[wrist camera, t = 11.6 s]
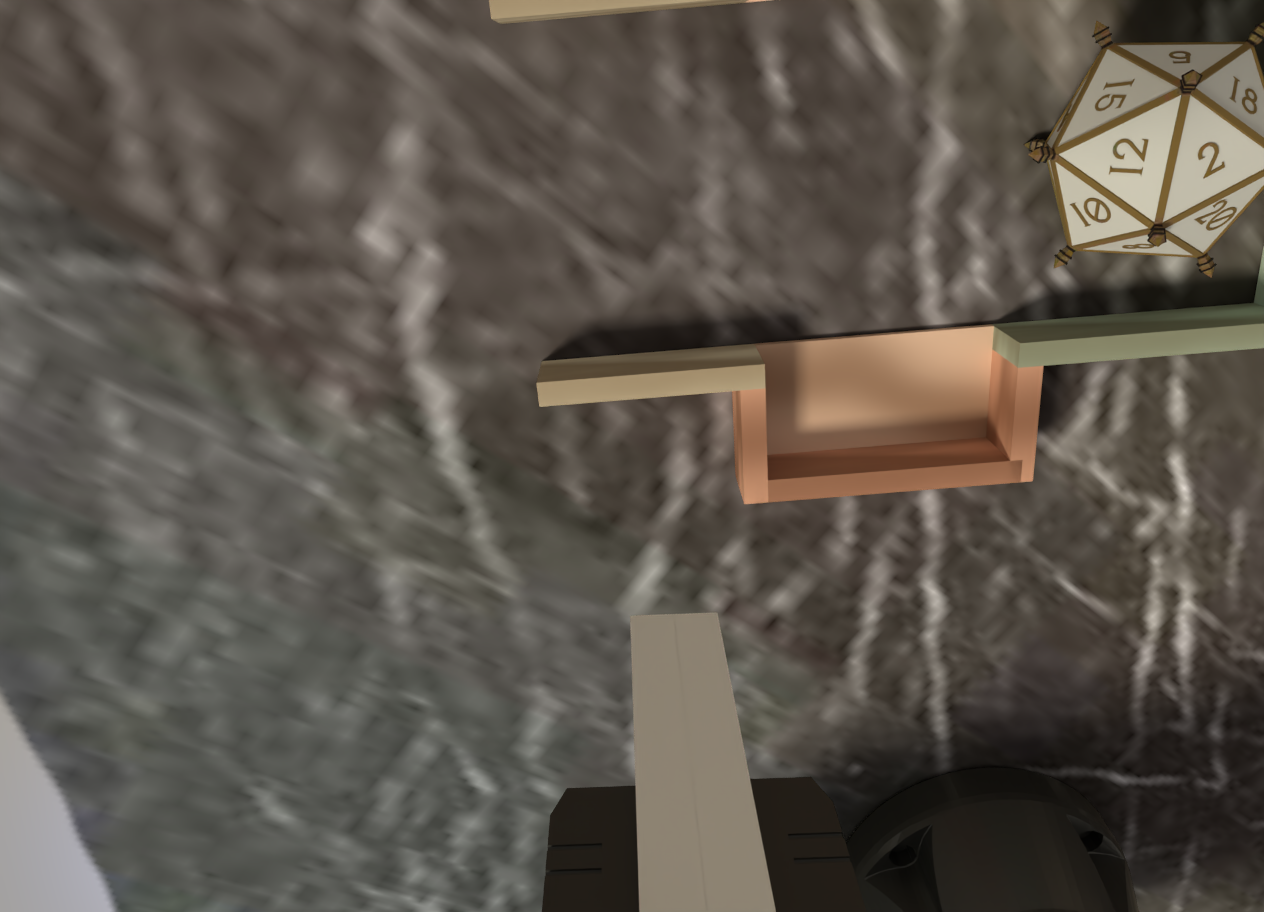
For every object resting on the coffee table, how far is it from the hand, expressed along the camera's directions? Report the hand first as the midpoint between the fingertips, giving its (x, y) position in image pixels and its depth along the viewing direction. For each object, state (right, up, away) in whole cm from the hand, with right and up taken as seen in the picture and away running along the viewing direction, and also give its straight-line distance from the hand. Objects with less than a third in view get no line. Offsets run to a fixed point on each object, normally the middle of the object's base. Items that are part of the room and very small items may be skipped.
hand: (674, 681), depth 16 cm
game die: (+18, +16, +20) cm, 31 cm away
